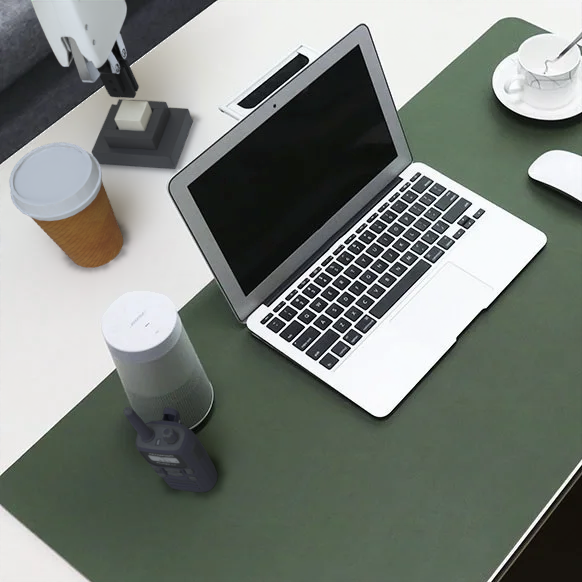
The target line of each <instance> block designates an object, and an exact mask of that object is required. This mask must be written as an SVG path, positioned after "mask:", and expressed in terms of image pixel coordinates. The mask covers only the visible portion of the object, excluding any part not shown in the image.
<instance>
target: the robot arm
mask: <svg viewBox="0 0 582 582" xmlns="http://www.w3.org/2000/svg"><path fill="white" fill-rule="evenodd" d="M30 2H31V5H32V7H33V11H34V13H35V15H36V17H37V19H38V22H39V25H40V27H41V29H42V31H43V33H44V36H45V38H46V40H47V42H48V44H49V46H50V48H51V50H52V52H53V54H54V56H55V58H56V59H57V61H58V63H59V64H60V66H61V67H64V68H67V67H68V68H69V67H70V65H71V63H72V61H73V60H74V63H75V66H76V69H77V72H78V75H79V79H80V80H81V82H82V83H95V82H97V80H98V79H99V78H100V81H101V82H102V85H103V87H104V88H105V90H106V92H107V94H108V96H110V97H111V98H119V99H135V98H136V96H137V92H138V91H139V88H140V85H139V83H138V81H137V78H136V76H135V74H134V73H133V69H132V68H131V65H130V64H129V61H128V60H127V59H126V58H127V54H128V53H127V49H126V46H125V43H124V40H123V38H122V28H123V25H124V22H125V20H126V17H127V12H128V11H127V10H128V6H127V2H126V0H30Z"/></svg>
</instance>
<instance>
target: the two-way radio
mask: <svg viewBox="0 0 582 582" xmlns="http://www.w3.org/2000/svg"><path fill="white" fill-rule="evenodd" d="M122 413H123V415H124V416H125V417H126V419H127V420H128V421H129V423H130V425H131V426H132V427H133V429H134V430H135V431H136V433H137V434H136V437H135V447H136V450H137V451H138V453H139V454H140V456H141V457H142V458H143V459H144V460H145V461H146V463H147V464H148V465H149V466H150V467H151V469H153V471H154V472H155V473H156V474H157V476H158V477H161V478H162V479H163V481H164V482H165V483H166V484H167V485H168V486H169V487H170V488H171V489H174V490H177V491H184V492H194V493H208V492H209V491H211V490H212V489H213V488H214V487H215V486H216V483H217V482H218V476H219V475H218V472H217V470H216V466H215V464H214V462H213V461H212V459H211V456H210V455H209V454H208V452H207V450H206V448H205V446H204V445H203V443H202V442H201V440H200V439H199V438H198V436H197V435H196V434H195V433H194V431H193V430H192V429H190V428H189V427H188V426H185V425H184V424H183V423H182V420H181V419H182V418H181V415H180V412H179V411H178V410H177V408H174V407H164V408H163V410H162V414H161V415H162V419H158V420H151V421H148V422H145V421H144V420H143V419H142V418H141V417H140V415H139V414H138V413H137V412H136V411H135V410H134V409H133V407H131V406H126V407H124V408H123V411H122Z"/></svg>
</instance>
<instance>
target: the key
mask: <svg viewBox="0 0 582 582" xmlns="http://www.w3.org/2000/svg"><path fill="white" fill-rule="evenodd" d="M130 100H131V99H125V100H122V103H121V105H120V107H119V110H118V112H117V114H116V117H115V122H116V124H117V126H118V128H119V130H133V131H145V130H146V128H147V125H148V123H149V120H150V117H151V115H152V110H151V108H150V106H149V103H148V102H147V101H148V100H142V101H130Z"/></svg>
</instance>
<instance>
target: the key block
mask: <svg viewBox="0 0 582 582" xmlns="http://www.w3.org/2000/svg"><path fill="white" fill-rule="evenodd" d="M122 100H126V98H119V99H118V100H117V103H116V104H115V103H112V104H111V105H110V108H109V110H108V112H107V114H106V117H105V119H104V121H103V123H102V126H101V129H100V131H99V134H98V136H97V138H96V140H95V142H94V144H93V148H92V149H91V154H92V155H93V156H94V157H95V158H96V159H97V161H98V162H99V165H107V166H121V167H123V166H124V167H136V168H137V167H138V168H150V169H151V168H154V169H164V170H165V169H166V170H176V169H177V166H178V162H179V161H180V158H181V156H182V153H183V149H184V147H185V144H186V141H187V138H188V137H189V133H190V130H191V127H192V125H193V122H194V119H193V118H192V115H191V112H190V109H189V108H187V107H186V108H184V107H169V105H168V102H167V101H160V100H159V101H158V100H146V101H147V102H148V103H149V106H150V108H151V110H152V115H151V117H150V120H149V123H148V125H147V128H146V130H145V131H133V130H119V128H118V126H117V124H116V122H115V117H116V114H117V112H118V110H119V107H120V105H121V103H122ZM129 100H130V101H143V100H141V99H129Z"/></svg>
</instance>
